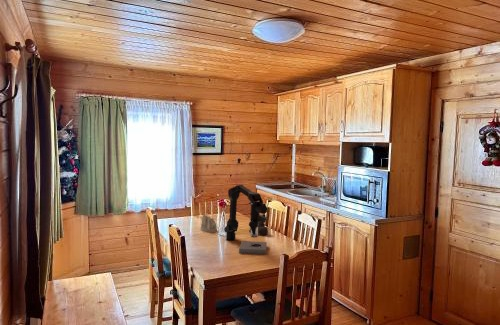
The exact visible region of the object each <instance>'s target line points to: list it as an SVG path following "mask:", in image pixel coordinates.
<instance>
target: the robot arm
mask: <svg viewBox="0 0 500 325" xmlns="http://www.w3.org/2000/svg"><path fill="white" fill-rule="evenodd" d="M240 194H243V195H244V196H246V197H247V200H249V201H250V202H248V204H249V205H250V214H249V215H250V218H249V219H250V221H249V222H248V227H250V228H251V230H252V233H253V235H255V232H256V228H257V227H258V224H259V222H257V221H262V222H264V224H266V222H267V219H268V217H267V215H266V214H267V212H268V206H267V205H266V203H264V201H263V200H264V199H263V198H262V196H261V194H260V193H259V192H257V191H252V190H251V189H249V188H247V187H246V186H245V185H243V184H237V185H235V186H234V187H231V188H229V189H228V190H227V195H228V198H229V199H230V201H229V217H228V220H227V221H226V225H225V227H224V228H223V230H224V233H226V235H225V241H235V240H236V238H237V237H236V236H237V235H236V234H237V233H236V232H238V228H239V221H238V220H237V203H238V199H239V198H240ZM250 228H249V229H250Z"/></svg>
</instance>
